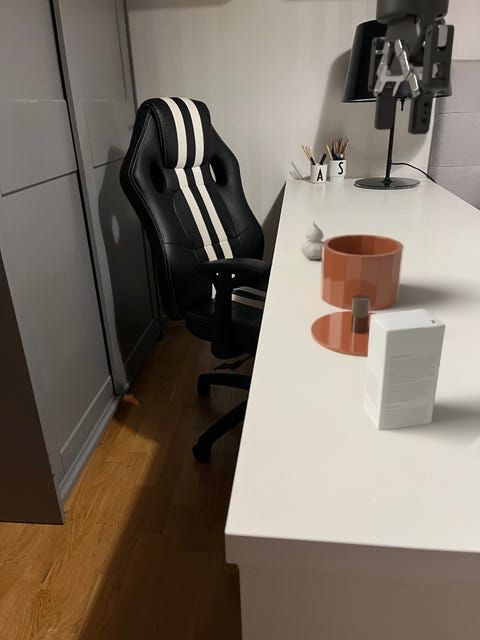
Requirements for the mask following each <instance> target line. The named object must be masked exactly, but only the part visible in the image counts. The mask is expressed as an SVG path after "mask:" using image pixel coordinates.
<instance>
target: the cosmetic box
mask: <svg viewBox="0 0 480 640" xmlns="http://www.w3.org/2000/svg"><path fill="white" fill-rule="evenodd" d="M445 331H446V324H445V323H443V322H442V321H441V320H440V319H438V318H437V317H436V316H435V315H433V314H432V313H430V312H429V311H428V310H427V309H425V308H418V309H411V310H410V309H409V310H401V311H390V312H383V313H376V314H372V315H371V316H370V329H369V344H368V356H367V358H366V359H367V361H366V374H365V390H364V401H363V402H364V403H363V410H364V412H365V413H366V414H367V416H368V417H369V419H370V420H371V422H372V423H373V425H374V426H375V428H376V429H377V430H378V431H386V430H394V429H401V428H408V427H409V428H410V427H416V426H422V425H430V424H432V421H433V414H434V413H433V412H434V406H435V400H436V393H437V386H438V385H437V384H438V379H439V372H440V365H441V358H442V351H443V344H444V338H445Z"/></svg>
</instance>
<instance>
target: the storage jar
mask: <svg viewBox="0 0 480 640" xmlns="http://www.w3.org/2000/svg"><path fill="white" fill-rule="evenodd" d="M323 241H324V243H323V244H322V257H321V265H320V266H321V267H320V270H321V271H320V291H319V292H320V293H319V295H320V297H321V300H322V301H324V303H326V304H328V305H329V306H332V307H335V308H338V309H340V310H341V309H342V310H345V311H352V299H353V296H355V295H366V296H369V297H370V308H369V312H376V311H382V310H386V309H389V308H391V307H393V306H395V305H396V304H397V303H398V300H399V294H400V287H401V285H400V284H401V277H402V267H403V258H404V248H405V246H404V244H403V243H402V242H400V241H399V240H396V239H394V238H392V237H387V236H381V235H375V234H362V233H361V234H343V235H337V236H336V235H335V236H333V237H330V238H327V239H324V240H323Z"/></svg>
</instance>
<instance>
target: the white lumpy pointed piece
mask: <svg viewBox="0 0 480 640" xmlns="http://www.w3.org/2000/svg"><path fill="white" fill-rule="evenodd" d="M304 236H305V238H306V241H305V242H304V243H302V244H301V246H300V249H301V250H300V251H301V254H302V255H303V256H304V257H305V258H306V259H309V260H319V259H322V244H323V243H324V241H325V240H323V238H324V237H325V236H324V233H323V231H322V229H321V228H319V226H317V225H316V223H315V221H312V226H311V227H309V229H308V232H306V233H305V234H304Z"/></svg>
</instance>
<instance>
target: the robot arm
mask: <svg viewBox="0 0 480 640" xmlns="http://www.w3.org/2000/svg"><path fill="white" fill-rule="evenodd" d="M449 5H450V0H376V9H375V19H376V21H377V22H378V23H380V24H386V27H387V30H386V33H385V36H380V37H373V38H372V41H371V51H370V60H369V71H368V80H367V81H368V82H367V90H368V92H373V96H374V97H375V98H376V99H375V113H374V123H373V126H374V129H375V130H377V131H378V130H379V131H385V130H386V131H387V130H391V129H392V128H393V127H394V118H395V107H396V97H395V95H396V93H397V91H398V89H399V86H400V84H401V83H402V82H403V81H407V82H408V84H409V88H410V91H411V95H412V98H410V107H409V117H408V125H407V132H408V134H410V135H426V134H428V133H429V131H430V125H431V121H432V120H431V119H432V113H433V112H432V111H433V103H434V98H435V97H437V95H438V93H439V92H441V91H446V90H447V89H448V88H449V86H450V79H451V78H450V77H451V67H452V56H453V49H454V48H453V46H454V40H455V39H454V37H455V26H454V24H436V22H437V21H439V20H442V19H444V18H445V17H446V16H448V12H449ZM438 65H439V68H438ZM438 71H439V74H438V76H436V74H437V73H438Z"/></svg>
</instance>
